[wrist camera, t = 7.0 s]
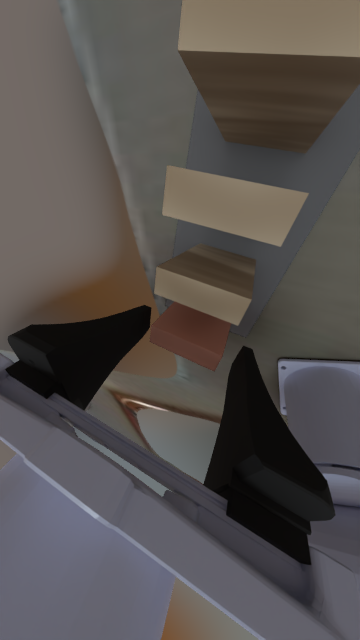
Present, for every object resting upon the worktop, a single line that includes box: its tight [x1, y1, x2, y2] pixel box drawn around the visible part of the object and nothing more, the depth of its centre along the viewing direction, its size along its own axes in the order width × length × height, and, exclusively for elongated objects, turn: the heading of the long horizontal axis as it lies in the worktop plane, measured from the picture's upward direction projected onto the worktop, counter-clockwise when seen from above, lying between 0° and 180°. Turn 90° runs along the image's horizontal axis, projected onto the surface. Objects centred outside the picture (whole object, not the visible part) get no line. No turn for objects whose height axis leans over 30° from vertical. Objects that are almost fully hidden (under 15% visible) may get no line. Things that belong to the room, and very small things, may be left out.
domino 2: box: [162, 165, 309, 247], centre depth 9 cm, size 2×5×8 cm, turn 79°
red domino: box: [150, 301, 231, 371], centre depth 14 cm, size 2×5×8 cm, turn 79°
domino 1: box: [178, 0, 360, 154], centre depth 7 cm, size 2×5×8 cm, turn 79°
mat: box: [165, 84, 360, 338], centre depth 12 cm, size 22×10×1 cm, turn 169°
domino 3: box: [154, 243, 256, 326], centre depth 12 cm, size 2×5×8 cm, turn 78°
